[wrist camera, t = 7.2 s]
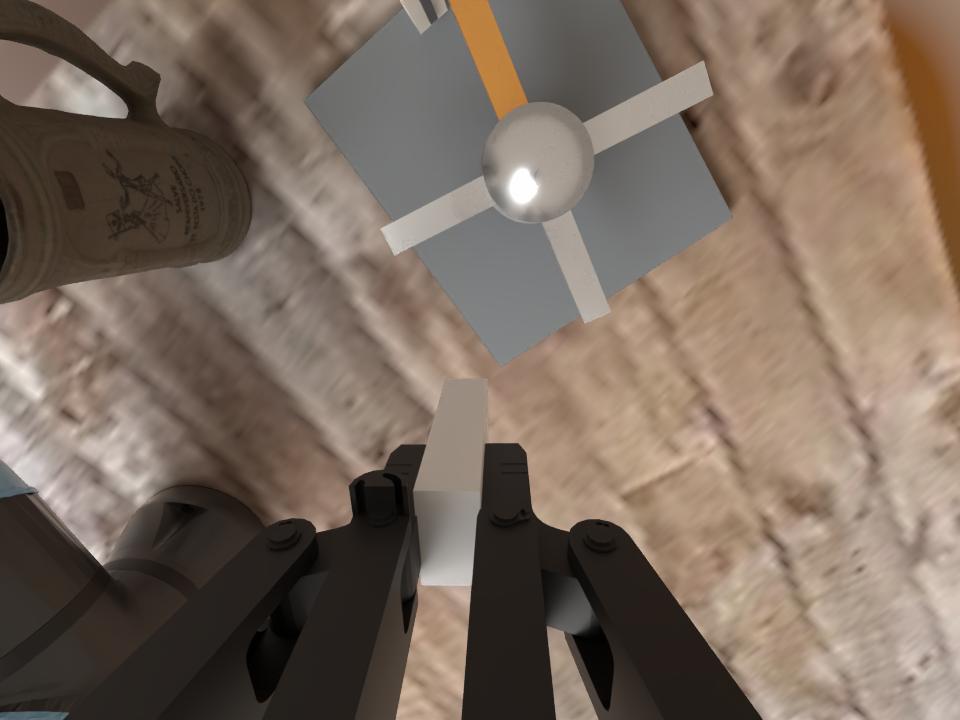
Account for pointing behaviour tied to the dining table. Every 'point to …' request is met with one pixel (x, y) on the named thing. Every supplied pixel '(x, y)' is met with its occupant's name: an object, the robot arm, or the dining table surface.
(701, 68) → the capstan
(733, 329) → the dining table surface
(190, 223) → the beer stein
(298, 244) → the dining table surface
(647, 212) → the stand
